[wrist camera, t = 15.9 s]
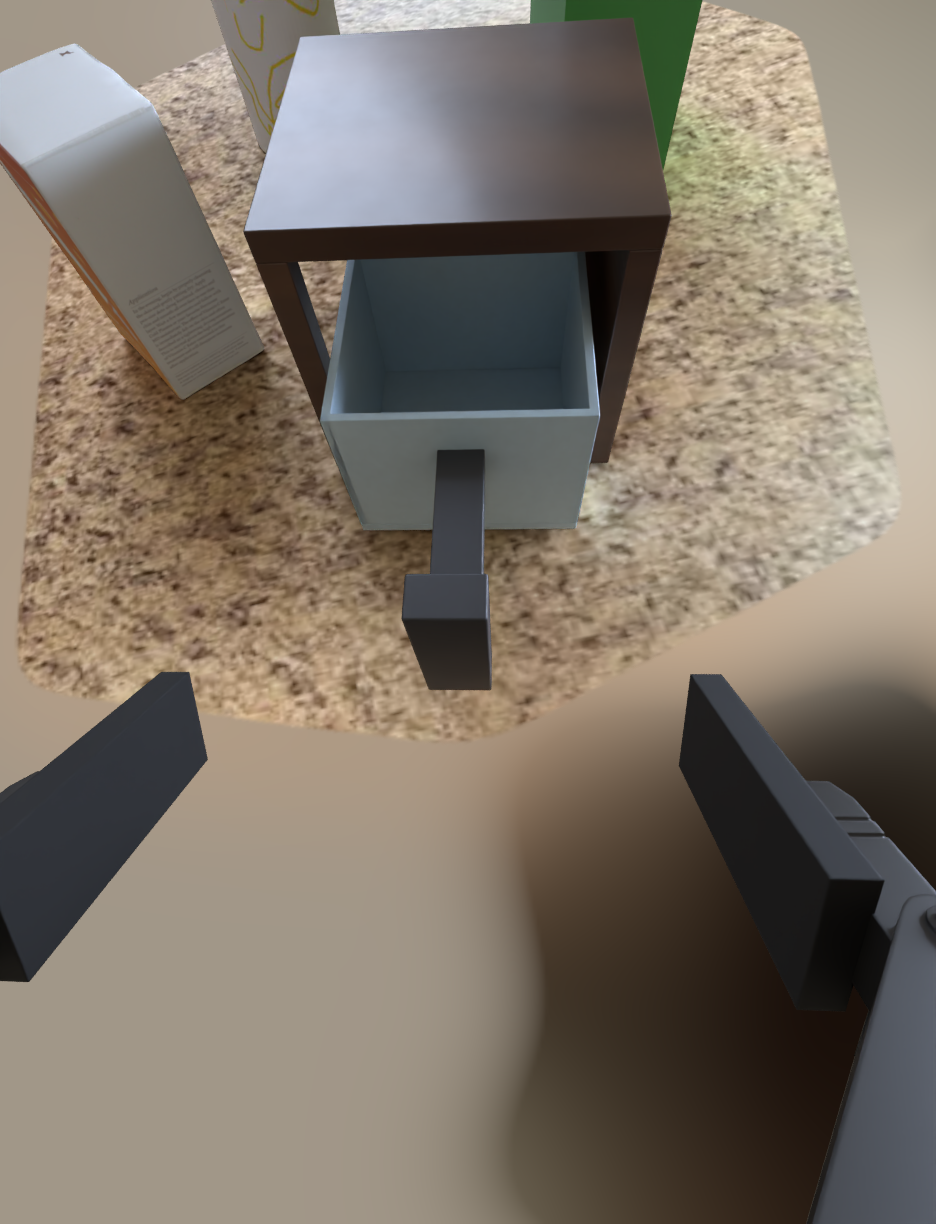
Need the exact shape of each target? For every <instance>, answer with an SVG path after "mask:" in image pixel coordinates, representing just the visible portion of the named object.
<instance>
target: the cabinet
mask: <svg viewBox="0 0 936 1224" xmlns="http://www.w3.org/2000/svg"><path fill="white" fill-rule="evenodd" d="M670 219H671V210H670V205H669V200H668V195H667V190H666V185H665V180H664V174H663V169H662V164H661V159H660V154H659V149H658V144H657V138H656V133H655V128H654V123H653V118H652V113H651V108H650V102H649V97H648V92H647V87H646V82H645V77H644V71H643V66H642V61H641V56H640V51H639V46H638V41H637V35H636V30H635V25H634V20H633V18H617V19H600V20H582V21H565V22H548V23H531V24H514V25H497V26H480V27H463V28H446V29H429V30H411V31H394V32H377V33H360V34H343V35H326V36H309V37H300V40H299V43H298V47H297V50H296V53H295V57H294V60H293V64H292V67H291V71H290V74H289V77H288V81H287V84H286V88H285V91H284V94H283V98H282V101H281V105H280V108H279V111H278V115H277V118H276V122H275V125H274V129H273V132H272V135H271V139H270V142H269V146H268V149H267V152H266V156H265V159H264V163H263V166H262V169H261V173H260V176H259V180H258V183H257V187H256V190H255V193H254V197H253V200H252V204H251V207H250V210H249V214H248V217H247V221H246V224H245V227H244V231H243V232H244V235H245V237H246V240H247V242H248V245H249V247H250V250H251V252H252V255H253V257H254V260H255V262H256V265H257V267H258V270H259V272H260V275H261V277H262V280H263V282H264V285H265V287H266V290H267V292H268V295H269V297H270V300H271V302H272V305H273V307H274V310H275V312H276V315H277V317H278V320H279V322H280V325H281V327H282V330H283V332H284V335H285V337H286V340H287V342H288V345H289V347H290V349H291V352H292V354H293V357H294V359H295V362H296V364H297V367H298V369H299V372H300V374H301V377H302V379H303V382H304V384H305V387H306V389H307V392H308V394H309V397H310V399H311V402H312V404H313V407H314V409H315V412H316V414H317V417H318V419H319V422H320V417H321V411H322V405H323V400H324V394H325V388H326V382H327V376H328V370H329V364H330V357H329V354H328V351H327V348H326V345H325V342H324V339H323V336H322V333H321V330H320V327H319V324H318V321H317V318H316V315H315V312H314V309H313V306H312V303H311V300H310V297H309V294H308V291H307V288H306V285H305V282H304V279H303V276H302V273H301V270H300V267H299V264H298V262H307V261H335V260H363V259H392V258H420V257H448V256H477V255H505V254H533V253H562V252H585V256H586V267H587V278H588V289H589V300H590V311H591V322H592V333H593V344H594V355H595V366H596V377H597V388H598V399H599V410H600V418H599V423H598V428H597V432H596V437H595V442H594V446H593V451H592V456H591V460H590V463H607V462H608V460H609V456H610V452H611V448H612V444H613V440H614V437H615V433H616V429H617V425H618V421H619V417H620V413H621V409H622V405H623V402H624V398H625V394H626V390H627V386H628V382H629V378H630V374H631V371H632V367H633V363H634V359H635V355H636V351H637V347H638V343H639V340H640V336H641V332H642V328H643V324H644V320H645V316H646V312H647V308H648V305H649V301H650V297H651V293H652V289H653V285H654V281H655V277H656V274H657V270H658V266H659V262H660V258H661V254H662V249H663V247H664V243H665V239H666V235H667V231H668V227H669V223H670ZM320 424H321V423H320ZM321 427H322V425H321ZM322 429H323V428H322ZM323 432H324V430H323ZM324 434H325V433H324ZM325 437H326V435H325ZM326 439H327V438H326ZM327 442H328V440H327ZM328 444H329V443H328ZM329 447H330V445H329ZM330 449H331V448H330ZM331 452H332V450H331ZM332 454H333V453H332ZM333 457H334V455H333ZM334 459H335V458H334ZM335 462H336V460H335ZM336 464H337V463H336ZM337 466H338V465H337Z"/></svg>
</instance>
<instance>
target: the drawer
mask: <svg viewBox="0 0 936 1224" xmlns="http://www.w3.org/2000/svg"><path fill="white" fill-rule="evenodd" d="M599 418H600V410H599V399H598V388H597V377H596V366H595V355H594V344H593V333H592V322H591V311H590V300H589V289H588V278H587V267H586V256H585V252H562V253H533V254H505V255H477V256H448V257H420V258H392V259H363V260H347V264H346V270H345V276H344V282H343V288H342V294H341V300H340V306H339V311H338V317H337V323H336V329H335V335H334V341H333V347H332V353H331V358H330V364H329V370H328V376H327V382H326V388H325V394H324V400H323V405H322V411H321V417H320V423H321V425H322V428H323V430H324V433H325V435H326V438H327V440H328V443H329V445H330V448H331V450H332V453H333V455H334V458H335V460H336V463H337V465H338V468H339V470H340V473H341V475H342V478H343V480H344V483H345V485H346V488H347V490H348V493H349V495H350V498H351V500H352V503H353V505H354V508H355V510H356V513H357V515H358V518H359V520H360V523H361V525H362V527H363V530H432V546H431V563H430V574H407V575H406V576H405V581H404V594H403V607H402V621H403V624H404V626H405V629H406V632H407V634H408V637H409V639H410V642H411V644H412V647H413V650H414V652H415V655H416V657H417V660H418V662H419V665H420V668H421V670H422V673H423V675H424V678H425V680H426V683H427V686H428V688H429V689H430V690H491V683H492V650H491V628H490V605H489V582H488V575H487V574H484V532H485V529H575V528H576V525H577V521H578V516H579V512H580V507H581V502H582V498H583V493H584V488H585V484H586V479H587V474H588V470H589V465H590V460H591V456H592V451H593V446H594V442H595V437H596V432H597V428H598V423H599Z"/></svg>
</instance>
